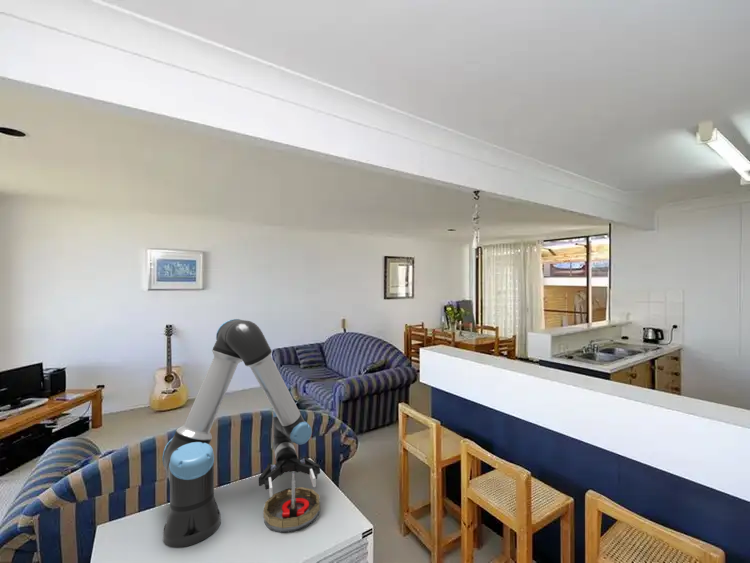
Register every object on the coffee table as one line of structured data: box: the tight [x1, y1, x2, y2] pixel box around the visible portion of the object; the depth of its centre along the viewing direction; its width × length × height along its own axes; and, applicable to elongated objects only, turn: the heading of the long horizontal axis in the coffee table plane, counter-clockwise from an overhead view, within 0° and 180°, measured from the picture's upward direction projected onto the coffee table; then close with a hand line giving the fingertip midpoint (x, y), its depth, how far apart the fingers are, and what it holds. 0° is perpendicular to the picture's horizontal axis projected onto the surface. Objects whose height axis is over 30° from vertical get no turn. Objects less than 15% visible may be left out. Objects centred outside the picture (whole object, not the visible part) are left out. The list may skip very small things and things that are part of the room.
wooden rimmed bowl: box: [262, 486, 321, 534], centre depth 108 cm, size 17×17×4 cm
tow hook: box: [282, 471, 309, 518], centre depth 108 cm, size 8×13×9 cm
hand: (293, 487), depth 105 cm, fingers open, 12 cm apart
